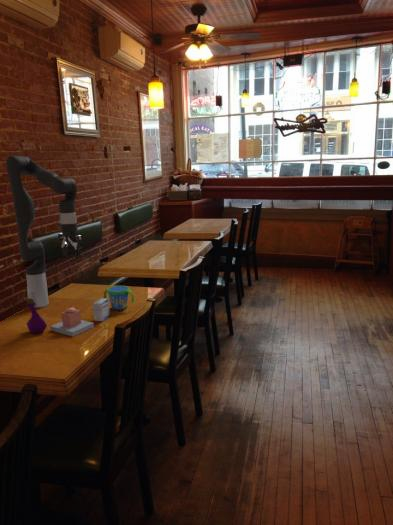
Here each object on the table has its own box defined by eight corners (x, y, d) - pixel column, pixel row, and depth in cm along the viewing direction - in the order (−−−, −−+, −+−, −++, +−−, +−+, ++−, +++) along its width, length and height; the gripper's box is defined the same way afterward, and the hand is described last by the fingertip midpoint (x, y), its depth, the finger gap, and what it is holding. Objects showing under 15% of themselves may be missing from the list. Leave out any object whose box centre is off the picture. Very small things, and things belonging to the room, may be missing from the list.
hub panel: (51, 330, 187) (49, 318, 186) (72, 321, 197) (71, 310, 196) (72, 336, 180) (71, 324, 179) (94, 327, 190) (93, 315, 188)
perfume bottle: (29, 336, 182) (24, 295, 177) (27, 330, 188) (22, 291, 184) (47, 332, 185) (43, 292, 181) (45, 327, 191) (40, 288, 187)
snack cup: (138, 306, 216) (137, 286, 214) (127, 313, 207) (126, 292, 204) (111, 303, 222) (110, 284, 219) (100, 309, 212) (98, 290, 210)
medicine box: (103, 321, 196) (101, 303, 194) (94, 321, 197) (92, 303, 195) (110, 315, 204) (108, 298, 202) (101, 315, 205) (99, 297, 203)
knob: (62, 325, 187) (61, 309, 185) (73, 321, 192) (72, 305, 190) (70, 327, 184) (68, 311, 183) (81, 323, 189) (79, 307, 187)
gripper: (51, 222, 200) (55, 256, 204) (72, 224, 192) (76, 259, 196) (64, 220, 206) (67, 253, 210) (85, 221, 199) (88, 256, 202)
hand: (71, 256), depth 203 cm, fingers open, 8 cm apart
